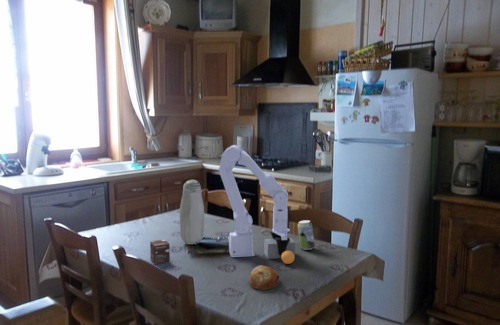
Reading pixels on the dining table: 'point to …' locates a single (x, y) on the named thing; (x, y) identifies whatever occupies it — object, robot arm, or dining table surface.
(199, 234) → the white tall rounded cylinder
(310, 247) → the beverage can
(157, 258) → the box
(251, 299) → the dining table surface
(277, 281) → the bread roll
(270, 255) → the light grey cuboid
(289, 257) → the ball
